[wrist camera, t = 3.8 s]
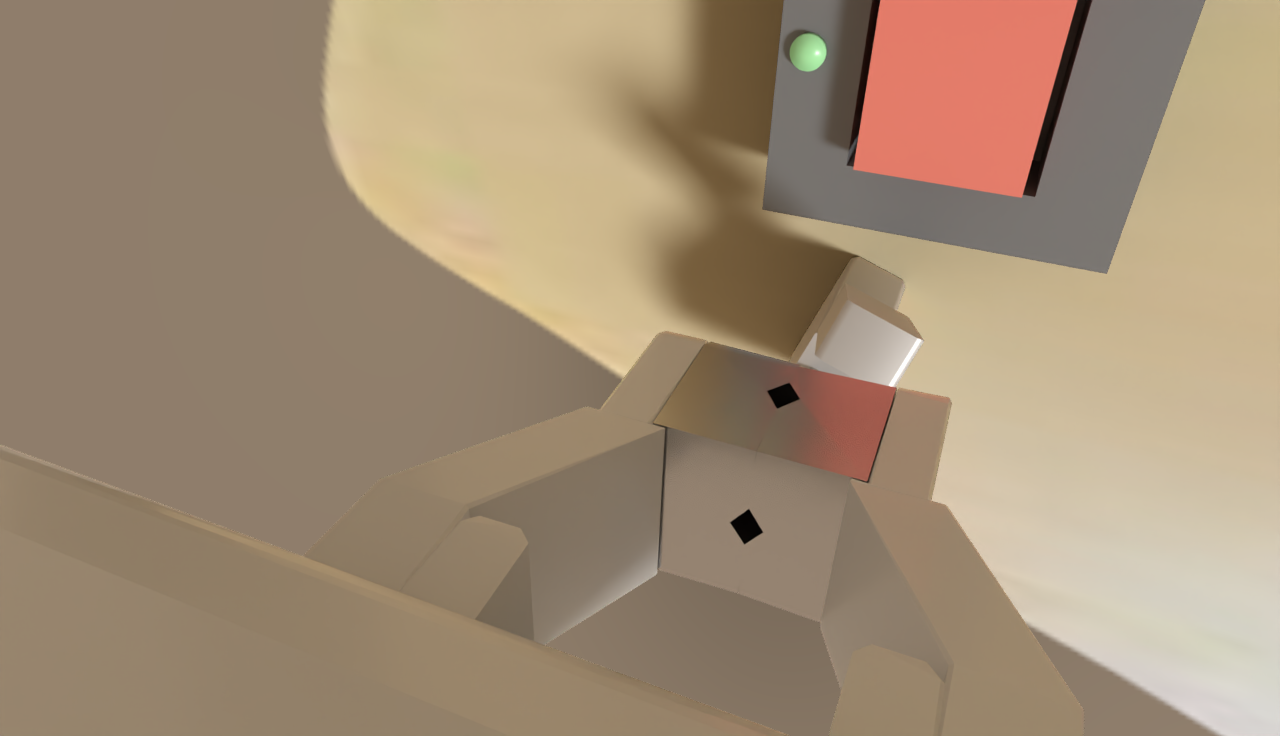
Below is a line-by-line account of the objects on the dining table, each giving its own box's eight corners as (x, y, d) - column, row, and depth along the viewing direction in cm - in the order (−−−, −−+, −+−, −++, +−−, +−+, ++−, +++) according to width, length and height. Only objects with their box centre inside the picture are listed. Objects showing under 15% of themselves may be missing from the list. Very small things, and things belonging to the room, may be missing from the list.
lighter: (840, 382, 28) (769, 559, 22) (791, 355, 28) (707, 523, 22) (966, 197, 24) (920, 357, 17) (907, 166, 24) (841, 313, 18)
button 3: (911, -67, 20) (887, -42, 18) (1085, -53, 19) (1083, -24, 17) (877, 125, 22) (853, 169, 20) (1029, 148, 21) (1021, 198, 19)
